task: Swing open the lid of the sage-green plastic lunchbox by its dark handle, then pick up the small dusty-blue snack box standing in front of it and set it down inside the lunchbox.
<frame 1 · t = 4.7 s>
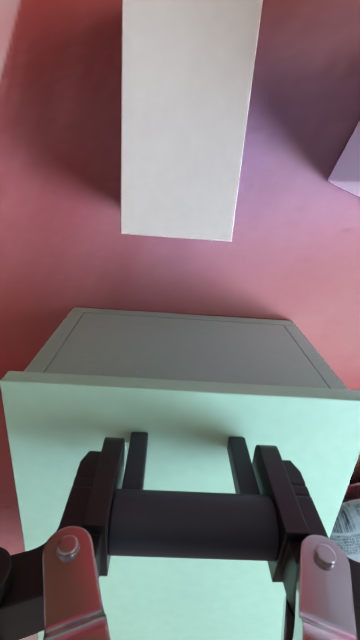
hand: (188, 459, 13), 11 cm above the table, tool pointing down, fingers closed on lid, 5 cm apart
lid: (175, 607, 15), point 12 cm above the table, hinge at 0.0°, touching gripper
lunchbox: (174, 430, 27), on the table
snack box: (182, 124, 19), on the table
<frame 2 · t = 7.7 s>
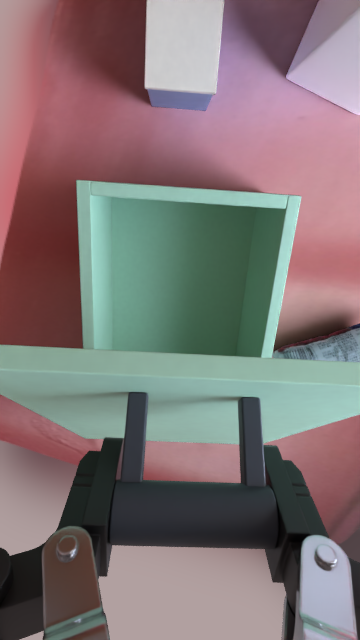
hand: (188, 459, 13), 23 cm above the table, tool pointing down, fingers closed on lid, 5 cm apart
milk carton: (342, 51, 28), on the table
lid: (179, 461, 19), point 19 cm above the table, hinge at 44.0°, touching gripper
lunchbox: (178, 291, 35), on the table
snack box: (182, 35, 27), on the table
packaged food: (326, 360, 38), on the table
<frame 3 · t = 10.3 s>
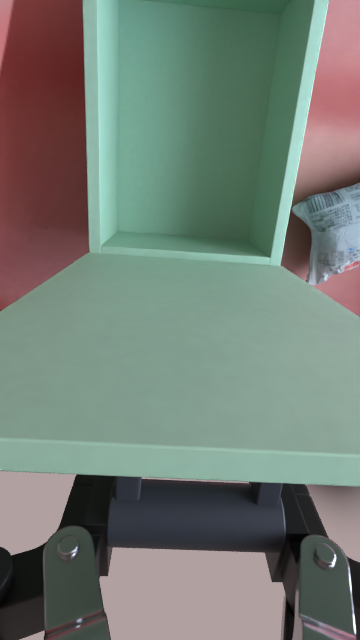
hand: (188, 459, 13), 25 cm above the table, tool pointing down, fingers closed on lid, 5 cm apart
lid: (188, 349, 17), point 20 cm above the table, hinge at 88.2°, touching gripper
lunchbox: (190, 134, 31), on the table
packaged food: (350, 226, 35), on the table
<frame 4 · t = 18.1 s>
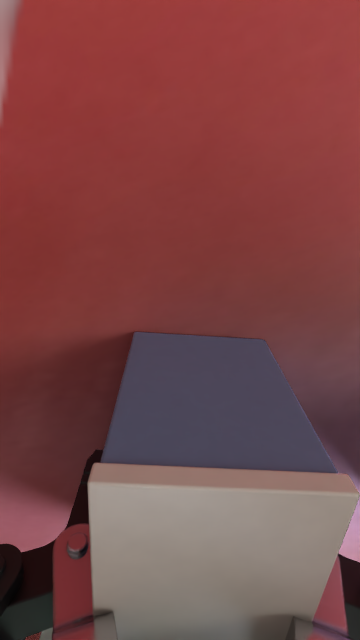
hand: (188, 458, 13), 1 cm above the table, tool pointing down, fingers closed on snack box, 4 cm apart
snack box: (188, 446, 14), on the table, touching gripper
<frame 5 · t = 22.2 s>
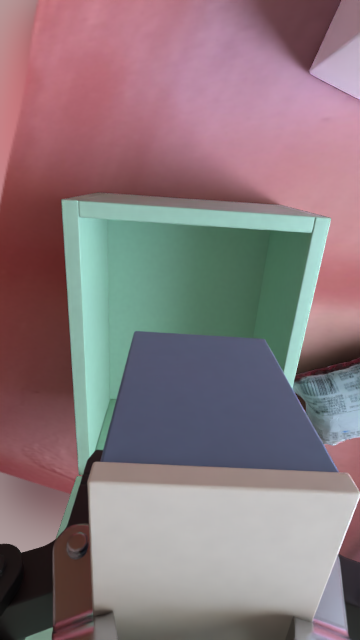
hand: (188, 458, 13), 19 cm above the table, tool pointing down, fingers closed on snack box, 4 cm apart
lunchbox: (182, 313, 31), on the table
snack box: (188, 445, 14), point 18 cm above the table, touching gripper
packaged food: (345, 387, 35), on the table
when the fingers open (2 cm above the table, at t = 26.6 s): snack box stays where it is, resting on lunchbox.
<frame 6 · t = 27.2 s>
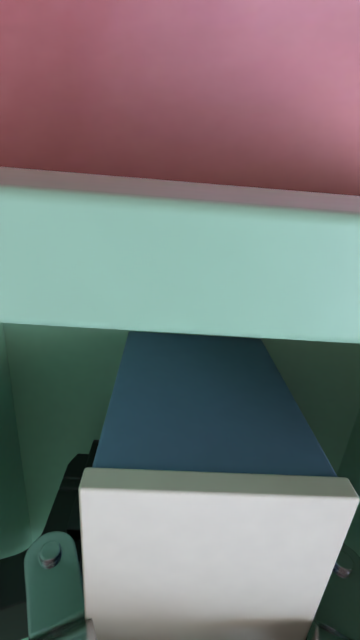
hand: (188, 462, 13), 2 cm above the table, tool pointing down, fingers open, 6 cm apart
lunchbox: (184, 433, 15), on the table
snack box: (183, 447, 14), point 1 cm above the table, touching lunchbox
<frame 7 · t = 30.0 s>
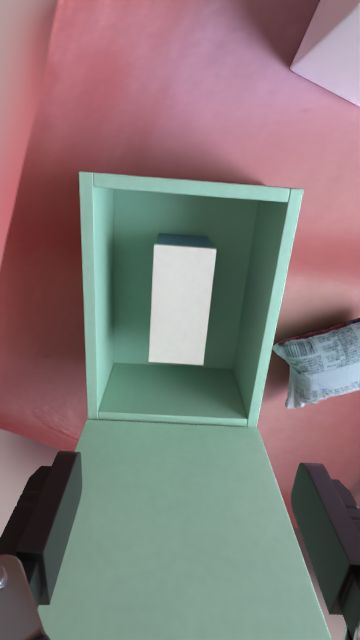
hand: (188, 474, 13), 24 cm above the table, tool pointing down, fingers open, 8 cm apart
milk carton: (347, 42, 27), on the table
lid: (169, 570, 21), point 20 cm above the table, hinge at 88.7°
lunchbox: (179, 284, 35), on the table
snack box: (179, 286, 34), point 1 cm above the table, touching lunchbox
packaged food: (326, 353, 38), on the table
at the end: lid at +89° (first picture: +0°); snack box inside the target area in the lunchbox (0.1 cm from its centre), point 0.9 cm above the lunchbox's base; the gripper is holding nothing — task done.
